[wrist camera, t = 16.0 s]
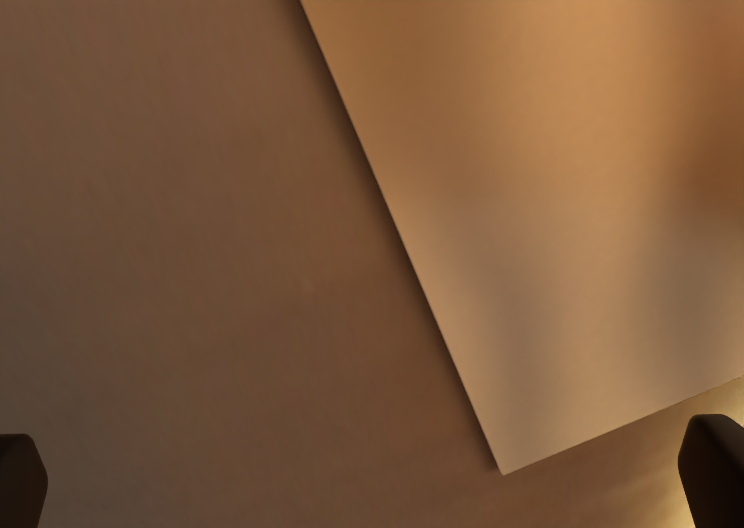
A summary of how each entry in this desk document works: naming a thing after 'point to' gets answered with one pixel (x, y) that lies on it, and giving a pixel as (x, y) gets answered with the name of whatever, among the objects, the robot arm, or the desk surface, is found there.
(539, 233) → the desk mat
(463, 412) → the desk surface
